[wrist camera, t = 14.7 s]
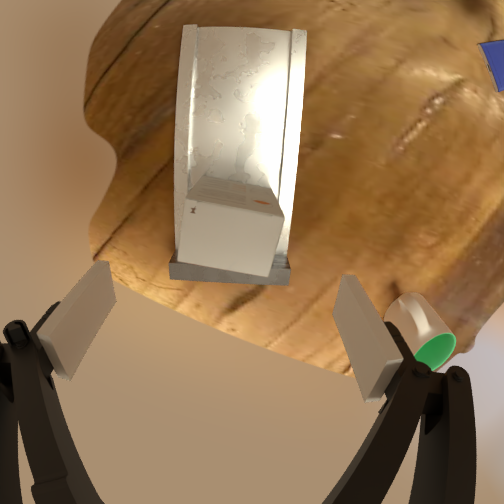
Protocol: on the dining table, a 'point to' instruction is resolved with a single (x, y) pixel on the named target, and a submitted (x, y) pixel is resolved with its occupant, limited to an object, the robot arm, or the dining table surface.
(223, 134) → the tray
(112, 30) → the dining table surface
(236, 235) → the small box
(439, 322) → the mug
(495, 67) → the hard drive
